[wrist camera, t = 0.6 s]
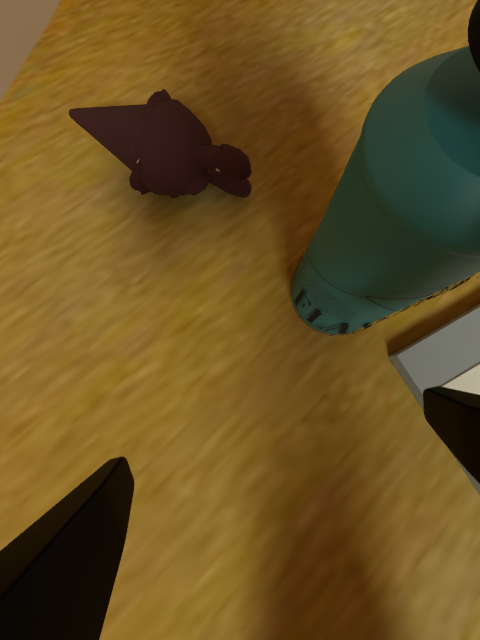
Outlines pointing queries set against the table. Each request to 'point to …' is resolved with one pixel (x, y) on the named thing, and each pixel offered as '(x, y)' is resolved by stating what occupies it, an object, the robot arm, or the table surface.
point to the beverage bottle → (402, 199)
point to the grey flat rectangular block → (444, 360)
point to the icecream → (166, 148)
